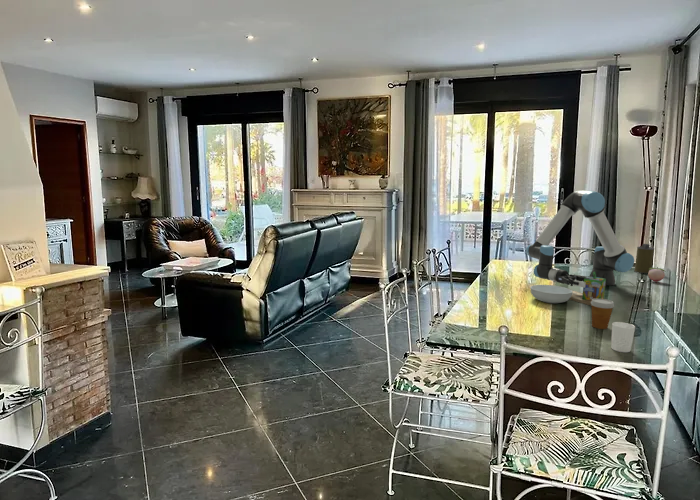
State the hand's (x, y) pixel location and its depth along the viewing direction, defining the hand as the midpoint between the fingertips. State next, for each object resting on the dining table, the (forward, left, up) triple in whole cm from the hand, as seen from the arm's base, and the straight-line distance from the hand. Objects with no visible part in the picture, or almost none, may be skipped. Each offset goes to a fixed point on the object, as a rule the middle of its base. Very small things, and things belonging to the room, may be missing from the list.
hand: (593, 283), depth 268 cm
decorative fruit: (-84, -14, -10) cm, 86 cm away
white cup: (+55, +52, -10) cm, 76 cm away
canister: (-108, -37, -10) cm, 114 cm away
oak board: (0, -7, -10) cm, 12 cm away
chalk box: (0, +1, -8) cm, 8 cm away
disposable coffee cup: (+36, +30, -10) cm, 48 cm away
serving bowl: (+20, -10, -10) cm, 25 cm away
